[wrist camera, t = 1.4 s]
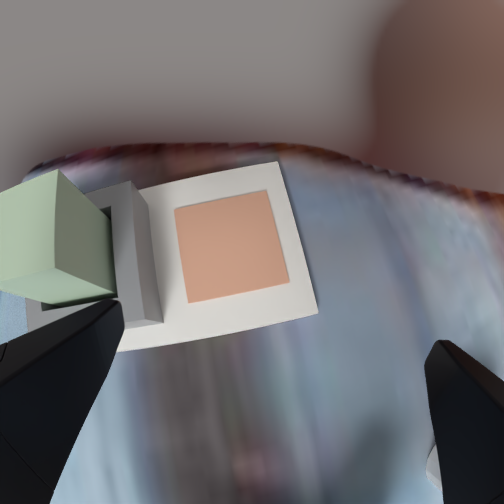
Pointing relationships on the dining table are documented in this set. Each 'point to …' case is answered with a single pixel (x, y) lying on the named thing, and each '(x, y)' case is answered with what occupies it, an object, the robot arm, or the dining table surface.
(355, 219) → the dining table surface
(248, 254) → the white board with socket
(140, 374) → the dining table surface
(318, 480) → the dining table surface
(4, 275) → the plug
